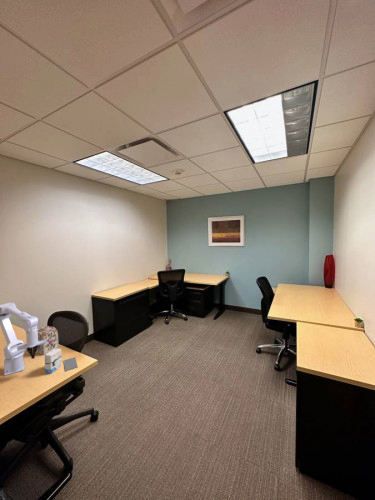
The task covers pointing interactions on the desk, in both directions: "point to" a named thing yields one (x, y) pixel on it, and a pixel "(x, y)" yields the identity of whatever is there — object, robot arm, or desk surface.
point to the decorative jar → (50, 336)
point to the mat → (70, 364)
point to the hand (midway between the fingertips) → (33, 358)
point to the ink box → (53, 360)
